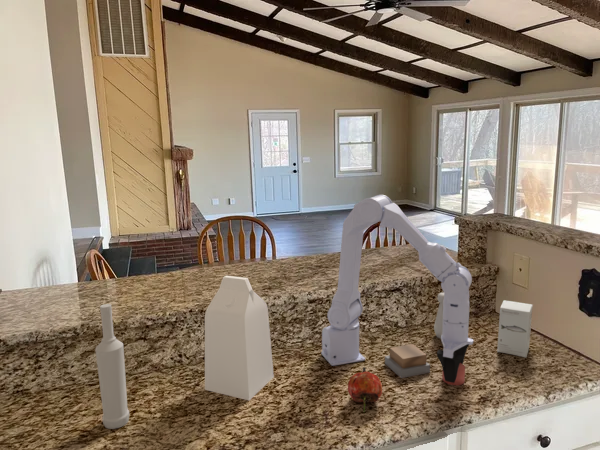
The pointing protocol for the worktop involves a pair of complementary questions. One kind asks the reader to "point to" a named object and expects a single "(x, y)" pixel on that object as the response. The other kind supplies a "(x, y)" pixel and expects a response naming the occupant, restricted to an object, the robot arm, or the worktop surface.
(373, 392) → the red apple
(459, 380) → the red rounded block
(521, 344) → the supplement box
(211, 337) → the milk
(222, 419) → the worktop surface
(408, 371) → the tower base block
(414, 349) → the tower top block
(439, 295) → the salt shaker
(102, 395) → the bottle
